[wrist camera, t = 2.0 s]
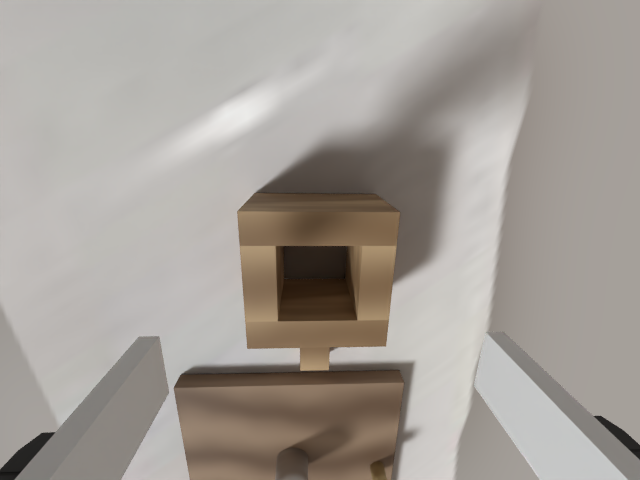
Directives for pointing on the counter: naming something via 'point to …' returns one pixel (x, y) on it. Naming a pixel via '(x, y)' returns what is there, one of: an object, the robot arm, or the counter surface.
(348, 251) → the wooden square frame
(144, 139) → the counter surface
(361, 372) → the jig
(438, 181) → the counter surface
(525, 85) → the counter surface
